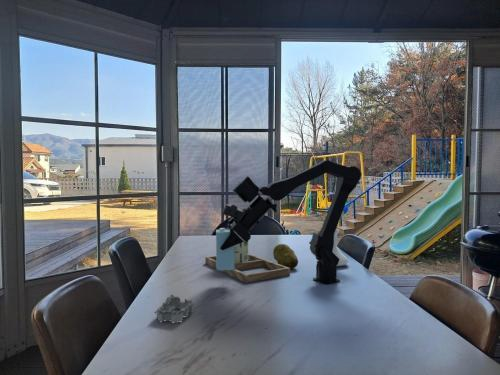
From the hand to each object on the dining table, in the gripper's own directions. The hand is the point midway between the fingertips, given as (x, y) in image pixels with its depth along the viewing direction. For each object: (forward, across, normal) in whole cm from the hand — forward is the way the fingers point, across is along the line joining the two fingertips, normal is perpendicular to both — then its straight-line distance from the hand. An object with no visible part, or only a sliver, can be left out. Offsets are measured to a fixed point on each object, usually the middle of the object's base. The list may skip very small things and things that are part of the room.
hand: (220, 247), depth 125 cm
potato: (-9, -21, +27) cm, 35 cm away
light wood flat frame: (+2, -19, +15) cm, 24 cm away
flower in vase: (-23, -22, +40) cm, 51 cm away
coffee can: (+4, -25, +13) cm, 29 cm away
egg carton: (+18, +26, 0) cm, 31 cm away
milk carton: (+4, 0, +6) cm, 7 cm away
